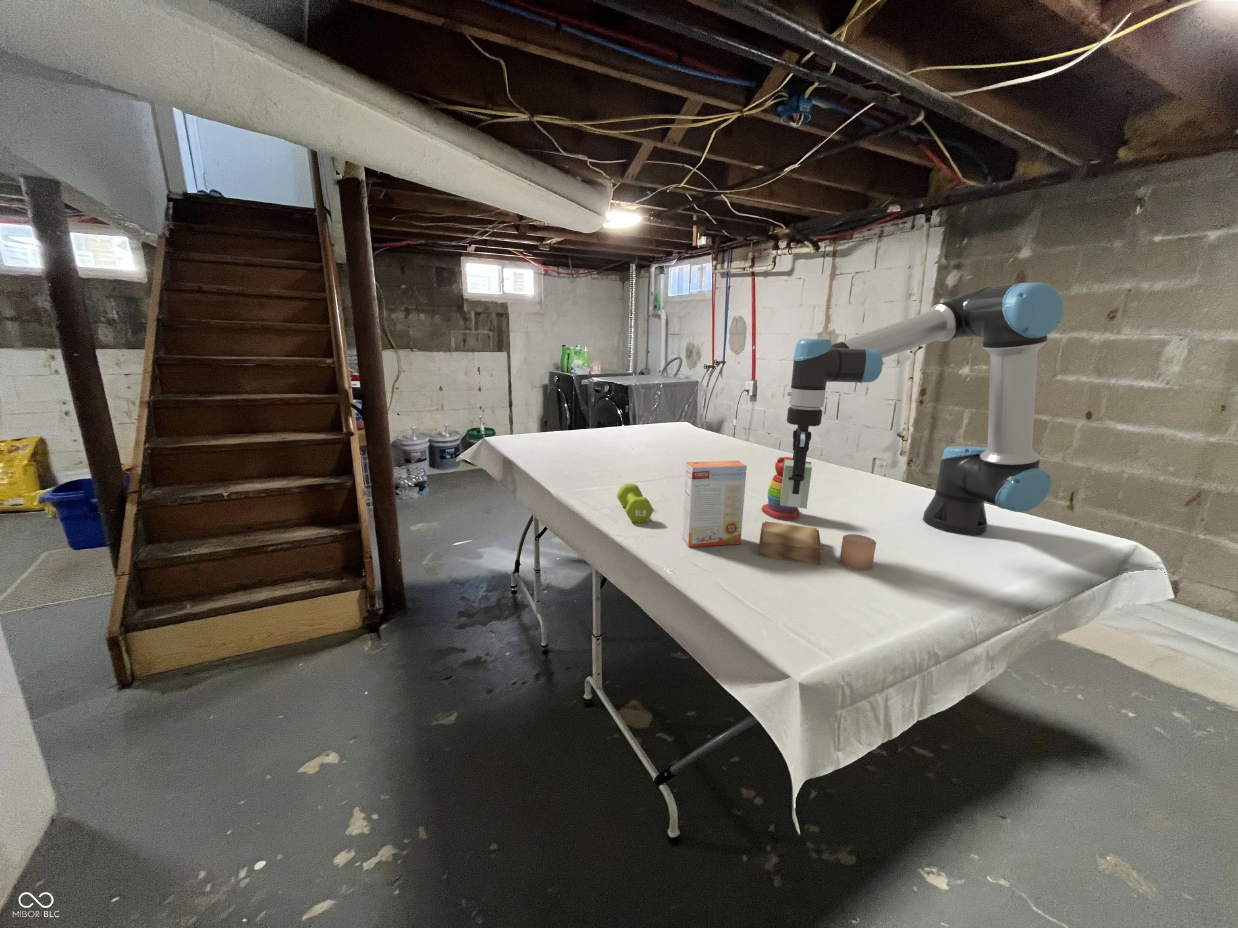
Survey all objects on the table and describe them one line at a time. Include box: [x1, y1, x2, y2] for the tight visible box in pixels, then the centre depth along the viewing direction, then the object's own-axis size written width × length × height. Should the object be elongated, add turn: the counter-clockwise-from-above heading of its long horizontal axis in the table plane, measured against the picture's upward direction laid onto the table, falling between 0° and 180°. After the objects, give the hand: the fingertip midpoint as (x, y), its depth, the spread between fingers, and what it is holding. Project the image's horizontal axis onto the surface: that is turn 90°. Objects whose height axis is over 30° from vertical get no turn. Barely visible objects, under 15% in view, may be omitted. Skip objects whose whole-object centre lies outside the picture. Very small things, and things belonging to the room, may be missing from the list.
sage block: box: [780, 460, 813, 509], centre depth 117 cm, size 6×6×10 cm
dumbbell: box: [616, 483, 654, 524], centre depth 142 cm, size 16×8×7 cm, turn 10°
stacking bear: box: [761, 456, 800, 521], centre depth 142 cm, size 11×10×18 cm
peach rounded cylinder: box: [838, 533, 877, 572], centre depth 113 cm, size 7×7×6 cm
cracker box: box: [682, 460, 748, 548], centre depth 122 cm, size 14×6×21 cm, turn 100°
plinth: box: [757, 521, 823, 566], centre depth 121 cm, size 14×14×4 cm
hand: (793, 501), depth 118 cm, fingers closed on sage block, 6 cm apart
